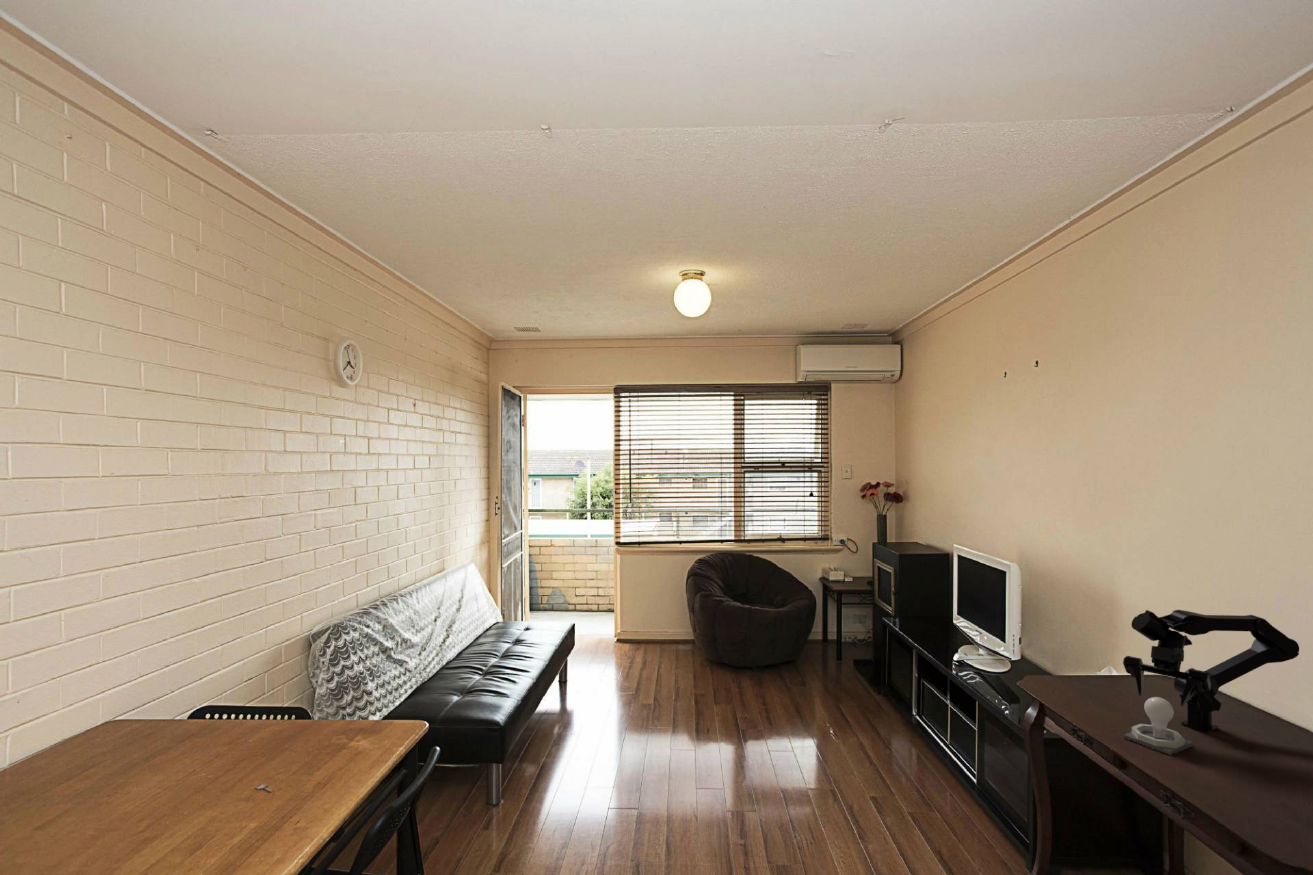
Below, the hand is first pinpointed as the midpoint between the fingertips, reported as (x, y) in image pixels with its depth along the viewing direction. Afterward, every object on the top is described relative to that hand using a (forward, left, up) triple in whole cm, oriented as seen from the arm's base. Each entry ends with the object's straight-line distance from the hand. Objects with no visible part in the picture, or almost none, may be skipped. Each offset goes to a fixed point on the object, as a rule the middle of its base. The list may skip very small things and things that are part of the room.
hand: (1160, 700), depth 178 cm
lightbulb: (+2, +1, -10) cm, 10 cm away
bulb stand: (+2, 0, -11) cm, 11 cm away
